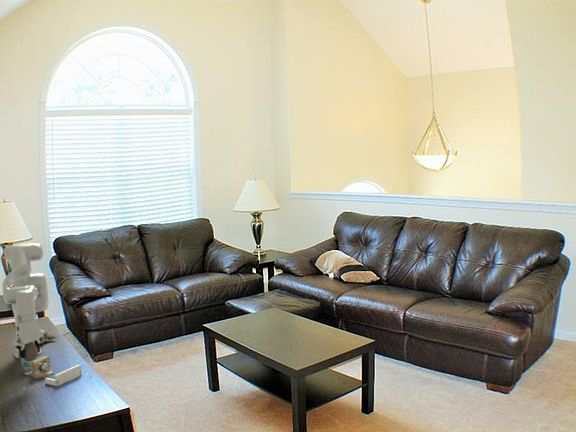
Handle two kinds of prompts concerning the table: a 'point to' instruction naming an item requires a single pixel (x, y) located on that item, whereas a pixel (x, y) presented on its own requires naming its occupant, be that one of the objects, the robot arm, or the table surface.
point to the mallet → (27, 365)
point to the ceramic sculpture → (46, 336)
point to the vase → (30, 351)
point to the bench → (35, 368)
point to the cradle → (65, 376)
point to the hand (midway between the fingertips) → (29, 354)
